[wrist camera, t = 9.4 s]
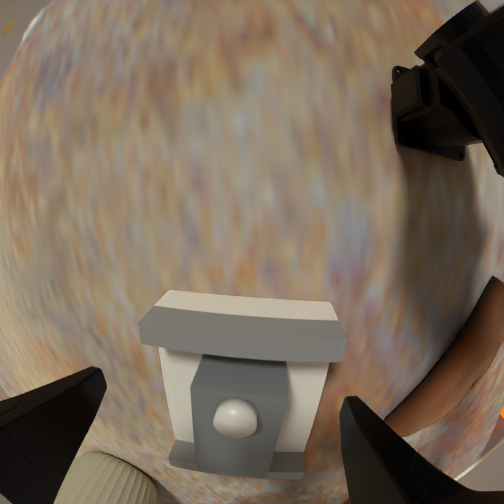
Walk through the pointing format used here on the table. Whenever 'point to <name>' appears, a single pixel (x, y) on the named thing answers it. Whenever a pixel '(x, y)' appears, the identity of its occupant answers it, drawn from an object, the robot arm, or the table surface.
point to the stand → (245, 346)
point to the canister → (105, 482)
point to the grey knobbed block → (237, 413)
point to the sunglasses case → (456, 366)
